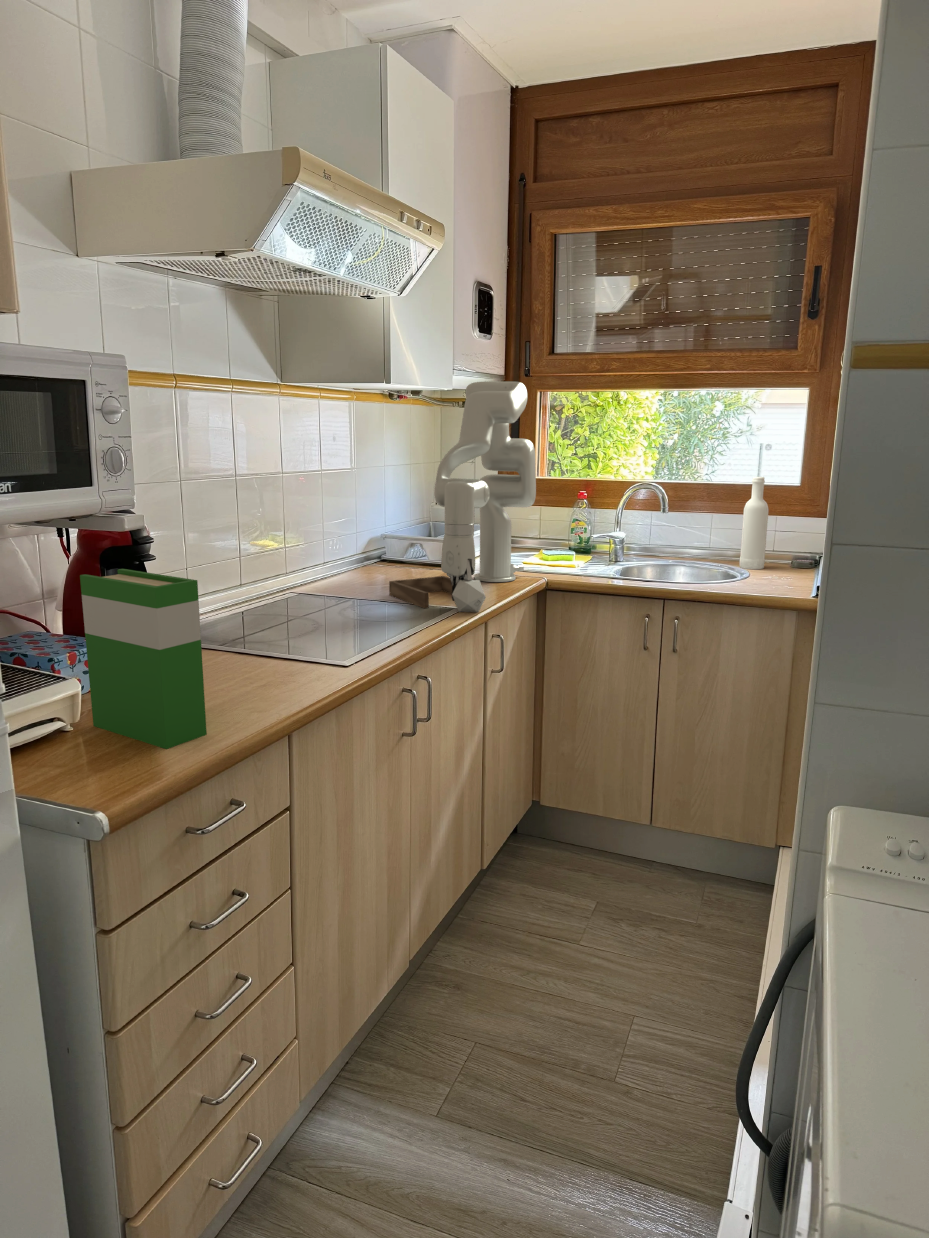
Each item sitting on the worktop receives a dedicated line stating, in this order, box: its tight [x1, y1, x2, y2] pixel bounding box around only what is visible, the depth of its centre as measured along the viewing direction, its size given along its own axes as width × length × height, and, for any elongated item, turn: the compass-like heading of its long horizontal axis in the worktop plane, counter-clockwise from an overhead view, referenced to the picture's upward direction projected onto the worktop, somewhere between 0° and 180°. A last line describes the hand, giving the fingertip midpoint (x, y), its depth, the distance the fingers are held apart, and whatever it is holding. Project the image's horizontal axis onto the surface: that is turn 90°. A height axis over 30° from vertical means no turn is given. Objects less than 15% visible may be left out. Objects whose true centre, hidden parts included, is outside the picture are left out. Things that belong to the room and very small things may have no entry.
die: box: [451, 579, 486, 613], centre depth 223 cm, size 8×9×10 cm
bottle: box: [739, 476, 769, 570], centre depth 290 cm, size 8×8×30 cm
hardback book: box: [79, 568, 208, 750], centre depth 133 cm, size 18×7×24 cm, turn 56°
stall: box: [388, 575, 452, 609], centre depth 238 cm, size 17×20×4 cm
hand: (458, 600), depth 228 cm, fingers closed
